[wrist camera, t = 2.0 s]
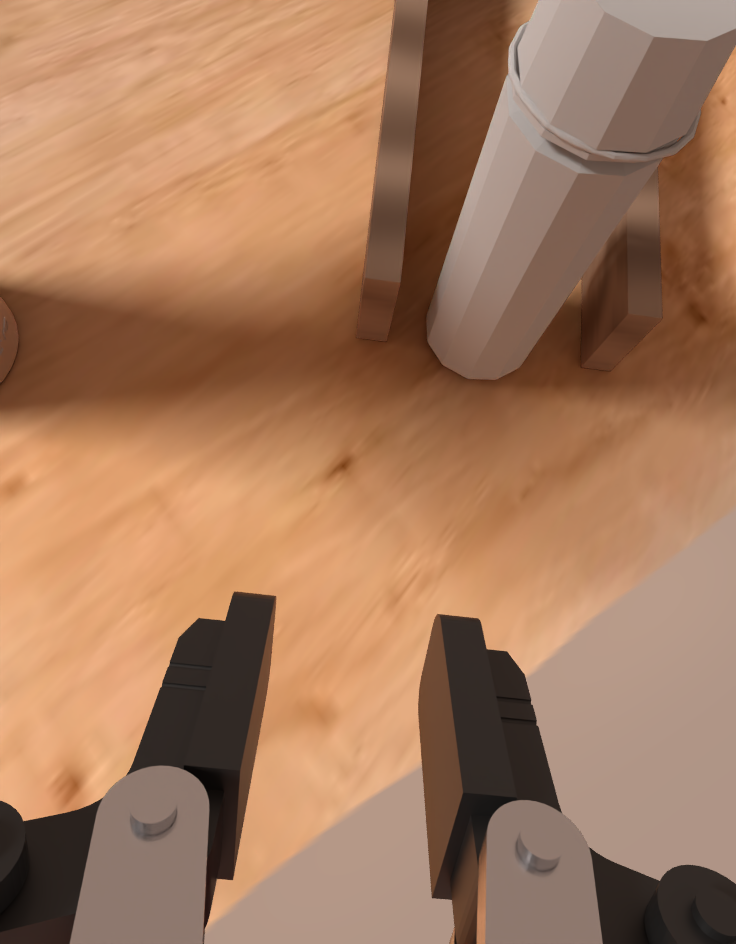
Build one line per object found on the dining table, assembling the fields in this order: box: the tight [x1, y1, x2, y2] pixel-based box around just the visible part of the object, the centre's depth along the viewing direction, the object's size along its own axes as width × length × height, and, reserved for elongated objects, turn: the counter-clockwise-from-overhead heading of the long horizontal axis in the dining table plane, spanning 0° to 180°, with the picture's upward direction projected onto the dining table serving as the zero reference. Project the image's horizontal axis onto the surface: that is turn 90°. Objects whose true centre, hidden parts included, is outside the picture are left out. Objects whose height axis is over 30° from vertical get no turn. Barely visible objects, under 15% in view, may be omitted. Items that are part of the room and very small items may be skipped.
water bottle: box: [426, 0, 736, 380], centre depth 34 cm, size 9×8×25 cm
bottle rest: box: [356, 0, 663, 371], centre depth 47 cm, size 36×17×7 cm, turn 174°
